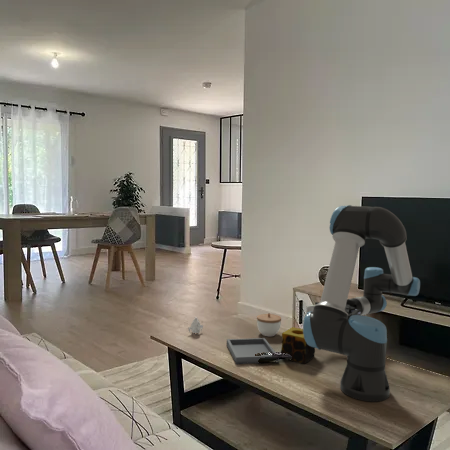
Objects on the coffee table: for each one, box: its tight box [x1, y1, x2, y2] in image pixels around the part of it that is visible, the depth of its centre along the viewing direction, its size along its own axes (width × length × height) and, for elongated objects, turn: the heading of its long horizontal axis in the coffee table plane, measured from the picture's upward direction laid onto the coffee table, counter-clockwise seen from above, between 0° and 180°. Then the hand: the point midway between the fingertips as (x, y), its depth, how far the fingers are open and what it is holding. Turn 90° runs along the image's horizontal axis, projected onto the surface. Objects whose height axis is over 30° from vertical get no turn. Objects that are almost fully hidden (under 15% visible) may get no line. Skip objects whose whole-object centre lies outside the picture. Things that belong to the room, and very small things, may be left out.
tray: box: [226, 337, 279, 365], centre depth 173 cm, size 20×16×2 cm
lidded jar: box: [256, 313, 282, 337], centre depth 197 cm, size 11×11×9 cm
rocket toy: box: [187, 316, 204, 335], centre depth 195 cm, size 5×5×8 cm
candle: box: [280, 326, 316, 365], centre depth 170 cm, size 10×10×10 cm
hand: (318, 313), depth 174 cm, fingers open, 13 cm apart
